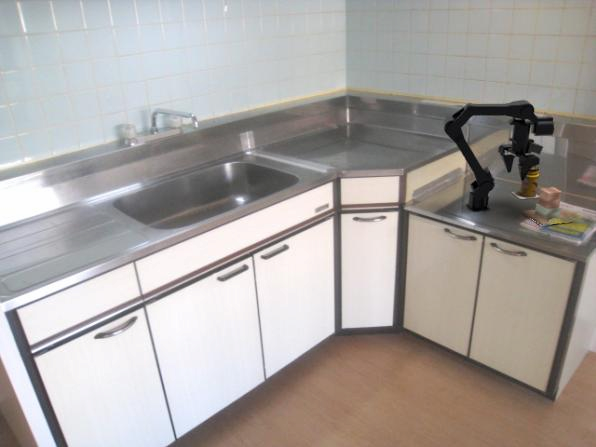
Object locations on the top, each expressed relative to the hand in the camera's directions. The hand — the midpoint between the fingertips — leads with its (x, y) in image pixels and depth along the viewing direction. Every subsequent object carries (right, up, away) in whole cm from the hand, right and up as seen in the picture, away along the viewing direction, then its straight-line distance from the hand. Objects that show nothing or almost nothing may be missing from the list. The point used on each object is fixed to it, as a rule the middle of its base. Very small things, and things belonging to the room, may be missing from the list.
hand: (515, 176), depth 189 cm
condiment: (+11, -6, +16) cm, 21 cm away
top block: (+9, -11, -7) cm, 16 cm away
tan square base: (+10, -16, -4) cm, 19 cm away
